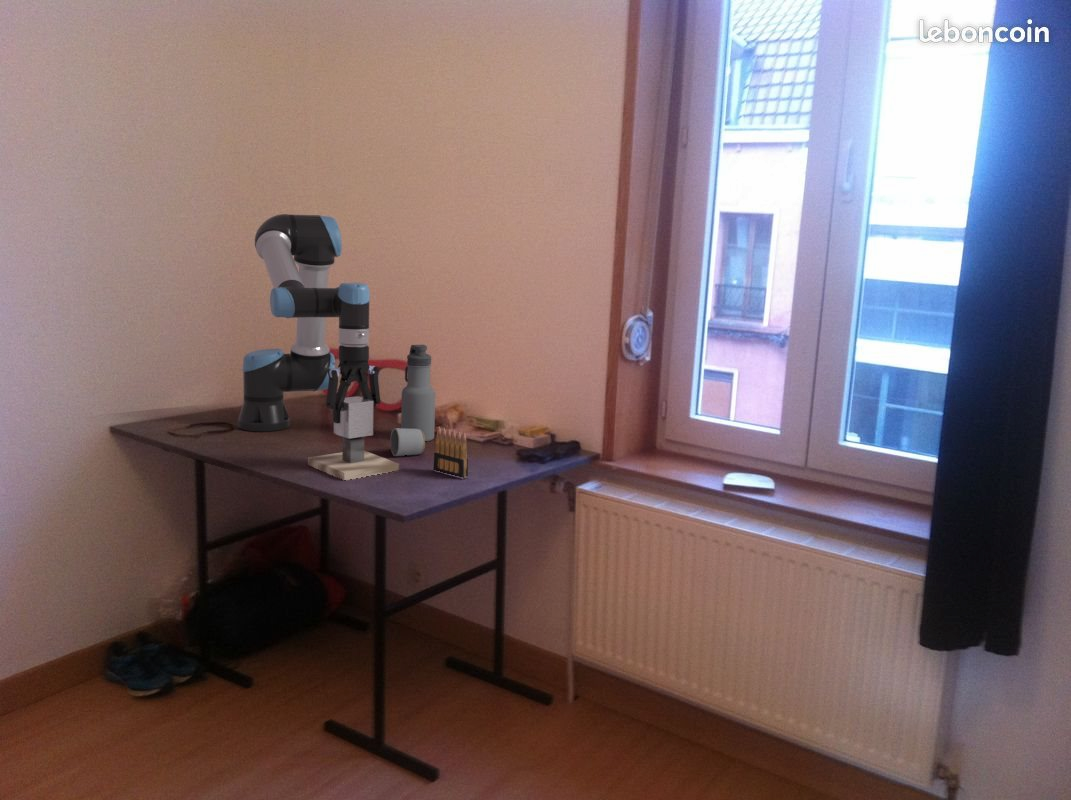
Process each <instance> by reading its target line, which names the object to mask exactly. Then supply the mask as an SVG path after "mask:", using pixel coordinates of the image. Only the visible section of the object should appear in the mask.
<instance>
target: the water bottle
mask: <svg viewBox="0 0 1071 800" xmlns="http://www.w3.org/2000/svg"><path fill="white" fill-rule="evenodd" d="M427 350H428V347H427V345H425V344H411V345H410V348H409V354H407V356H406V357H407V363H406V366H405V368H404V380H405V382H406V383H407V384H406V386H405V387H403V389H402V390H401V419H400V420H401V421H400V423H401V425H400V428H402V429H419V430H422V431H423V433H424V436H425V441H427V442H430V441H432V440H434V438H435V424H436V423H435V421H436V420H435V419H436V417H435V416H436V391H435V389H434V388H433V387H432V386H431V367H432V355H431V354H428V353H427V352H426V351H427Z"/></svg>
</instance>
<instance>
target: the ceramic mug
mask: <svg viewBox="0 0 1071 800" xmlns="http://www.w3.org/2000/svg"><path fill="white" fill-rule="evenodd" d="M389 444H390V450H391V451H390V452H391V453H392V456H394V457H406V456H405V455H407V456H417V455H421V454H423V452H424V451H425V447H426V442H425V436H424V433H423V431H422V430H419V429H402V428H401V427H400V428H399V427H398V428H397V427H396V428H393V429H392V431H391V433H390V442H389Z"/></svg>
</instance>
